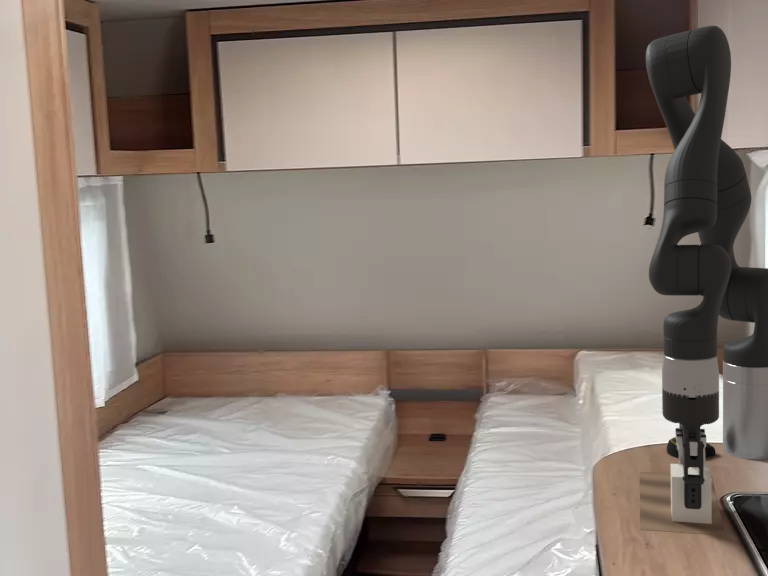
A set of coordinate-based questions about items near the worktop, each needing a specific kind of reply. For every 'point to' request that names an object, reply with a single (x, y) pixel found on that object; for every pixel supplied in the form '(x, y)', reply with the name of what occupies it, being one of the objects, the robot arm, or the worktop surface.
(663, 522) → the board
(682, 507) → the white rectangular block
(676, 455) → the tape measure
